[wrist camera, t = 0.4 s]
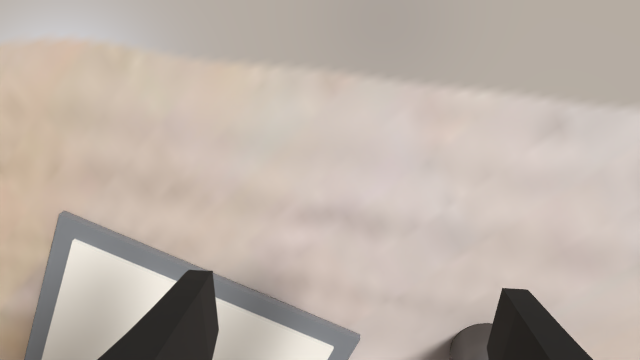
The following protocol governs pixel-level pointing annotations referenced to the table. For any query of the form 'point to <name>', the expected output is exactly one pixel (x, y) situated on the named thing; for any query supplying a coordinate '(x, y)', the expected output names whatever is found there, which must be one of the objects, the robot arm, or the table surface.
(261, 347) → the writing pad
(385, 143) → the table surface
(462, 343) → the orange-topped grey cylinder
